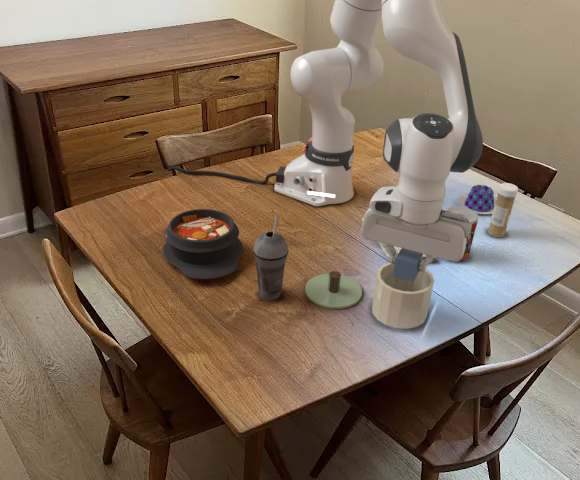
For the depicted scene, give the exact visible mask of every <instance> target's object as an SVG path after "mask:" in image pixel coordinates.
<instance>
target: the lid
mask: <svg viewBox="0 0 580 480" xmlns="http://www.w3.org/2000/svg"><path fill="white" fill-rule="evenodd" d="M304 292H305V295H306V297H307V299H308V300H309V301H310V302H312V303H313V304H315V305H317V306H319V307H321V308H325V309H331V310H342V309H348V308H350V307H353V306H355V305H357V303H359V301H360V300H361V299H362V296H363V289H362V287H361V285H360V284H359V282H358V281H356V279H354V278H352V277H350V276H348V275H344V274H342V273H341V272H339V271H337V270H332V271H330V272H329V273H328V272H327V273H320V274H318V275H315V276H313V277H311V278H310V279H308V281H307V282H306V283H305V287H304Z"/></svg>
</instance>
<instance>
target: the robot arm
mask: <svg viewBox="0 0 580 480" xmlns="http://www.w3.org/2000/svg"><path fill="white" fill-rule="evenodd" d="M380 21H381V25H382V32H383V35H384V38H385V40H386V42H387V43H388V44H389V46H390V47H391V48H392V49H393V50H394V51H396V52H397V53H399V54H400V55H402V56H403V57H405V58H408V59H411V60H413V61H416V62H418V63H420V64H422V65H424V66H426V67H427V68H430V69H431V70H433V71H434V72H435V73H436V74H437V76H438V77H439V78H440V81H441V83H442V88H443V93H444V99H445V104H446V110H447V115H448V118H447V117H445V116H444V115H440V114H436V113H432V112H431V113H430V112H427V113H426V112H425V113H420V114H417V115H415V116H413V117H405V118H399V119H398V118H397V119H395V120H394V121H393V122H392V123H391V124H390V125H389V126H388V127H387V129H386V130H385V134H384V138H383V139H384V140H383V148H382V157H383V161H384V162H385V163H386V164H387V165H388V166H389V167H390V168H391V169H392V170H393V171H394V172H395V173H399V176H400V177H399V181H398V183H397V185H393V186H392V185H391V186H382V187H380V188H379V189H377V190H376V192H375V193H374V194H373V195H372V197H371V199H370V201H369V207H368V209H367V210H366V212H365V213H364V216H363V218H364V219H363V220H362V223H361V229H360V234H361V236H362V237H363V239H365V240H369V241H373V242H377V243H379V242H380V243H384V244H387V245H386V249H387V251H388V253H389V255H390V258H389V262H390V263H392V264H395V260H396V257H397V255H398V253H396V251H395V248H394V247H395V246H396V247H399V248H403V249H407V250H411V251H415V252H419V253H422V254H426V259H425V260H421V261H420V262H419V265H418V271H422V272H425V270H426V269H428V265H429V264H431V263H432V262H431V261H432V260H433V258H434V257H436V258H438V259H442V260H446V261H449V262H453V263H457V262H458V261H459V260H461V259H462V257H463V255H464V252H465V247H466V239H467V237H468V236H469V235H470V233H471V229H472V223H471V221H470V220H469V219H467V218H466V216H464V215H461V214H455V213H452V212H449V211H446V209H445V210H444V209H443V206H444V202H445V196H446V192H447V191H446V181H447V179H448V177H449V175H450V173H460V174H463V173H465V172H467V171H469V170H470V169H471V168H473V166H474V165H476V163H477V162H478V161H479V160H480V159H481V157H482V154H483V149H484V140H483V139H484V138H483V134H482V130H481V126H480V124H479V121H478V118H477V114H476V110H475V105H474V99H473V95H472V88H471V83H470V78H469V77H470V76H469V72H468V68H467V62H466V58H465V53H464V49H463V45H462V41H461V40H460V37H459V36H458V34H457V33H455V32H454V31H452V29H451V28H450V27H449V25H448V23H447V21H446V19H445V16H444V14H443V10H442V0H334V2H333V6H332V10H331V13H330V16H329V23H330V28H331V30H332V32H333V34H334V36H336V37H337V38H338V40H340V41H339V43H338V44H337V46H336V47H331V48H325V49H320V50H319V49H318V50H312V51H310V52H307V53H305V54H302V55H300V56H298V57H296V58H295V59H294V61H292V65H291V66H290V67H291V68H290V75H289V77H290V82H291V86H292V88H293V89H294V91H295V93H296V94H297V95H298V96H299V97H301V98H302V99H303V100H304V101H306V104H307V105H308V107H309V110H310V114H311V123H312V125H311V137H310V138H309V139H308V141H307V142H306V143H305V145H304V146H303V147H302V152H304V153H303V154H301V155H299V156H297V157H296V158H294V159H292V160H291V161H290V162H289V163H288V164H287V165H286V166H280V165H279V168H278V169H277V171H275V172H272V173H268V174H267V175H266V176H265V179H264V180H260V181H258V180H254V179H251V178H248V177H245V176H241V175H237V174H236V175H235V174H232V173H231V174H230V173H226V172H221V171H213V170H194V169H193V170H192V169H185V168H181V167H179V166H174V165H173V166H170V167H169V168H167V170H166V171H167V172H172V171H174V170H175V171H178V172H181V173H184V174H191V175H212V176H213V175H214V176H220V177H225V178H230V179H234V180H241V181H244V182H248V183H250V184H251V183H252V184H258V185H265V184H267V183H268V182H269V179H270V178H271V177H275V183H274V187H273V189H274V191H275V192H276V193H278V194H282V195H283V196H287V197H288V198H289V197H290V198H292V199H295V200H298V201H300V202H303V203H305V204H309V205H311V206H313V207H323V206H327V205H337V204H343V203H346V202H348V201H350V200H351V199H353V197H354V195H355V191H354V187H353V178H352V167H353V164H354V159H355V157H354V156H355V145H354V135H355V126H356V120H355V117H354V115H353V114H352V112H351V111H350V110H349V109H347V108H346V107H344V106H342V95H345V94H351V93H356V92H361V91H364V90H367V89H369V88H371V87H373V86H375V85H377V84H378V83H380V81H381V80H382V77H383V74H384V69H385V65H384V59H383V56H382V54H381V52H380V51H379V50H378V49H377V47H376V44H375V43H376V33H377V31H378V27H379V26H378V25H379V24H380ZM465 220H466V221H465ZM430 262H431V263H430ZM459 262H460V261H459Z"/></svg>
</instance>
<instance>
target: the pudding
mask: <svg viewBox="0 0 580 480" xmlns="http://www.w3.org/2000/svg"><path fill="white" fill-rule="evenodd" d="M496 199H497V198H496ZM496 199H495V191H494V189H492V187H490V186H488V185H486V184H477V185H473V186H472V188H471V189H470V190H469V192H468V193H464V194H462V195H459V196H458V198H457V204H458V206H462V207H466V208H469V209H471V210H473V211H475V212H476V213H477V215H478V214H479V215H492V214H493V210H494V206H495V203H496Z"/></svg>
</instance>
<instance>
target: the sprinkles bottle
mask: <svg viewBox="0 0 580 480" xmlns="http://www.w3.org/2000/svg"><path fill="white" fill-rule="evenodd" d="M518 192H519V187H518V186H517V185H515V184H513V183H510V182H503V183H500V184H499V185H498V189H497V196H496V203H495V206H494V210H493V214H491V217H490V223H489V227H488V229H487V233H488V234H489V235H490V236H492V237H494V238H503V237H505V236H506V235H507V228H508V225H509V222H510V220H511V219H510V218H511V216H512V210H513V207H514V203H515V200H516V197H517V196H518Z"/></svg>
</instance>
